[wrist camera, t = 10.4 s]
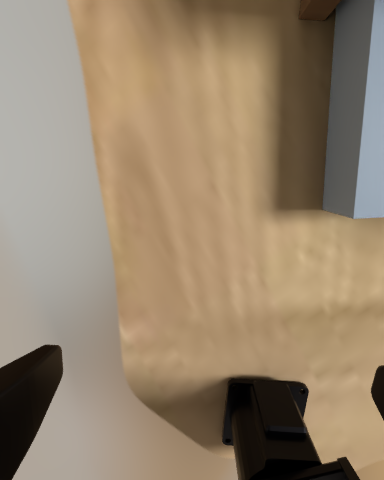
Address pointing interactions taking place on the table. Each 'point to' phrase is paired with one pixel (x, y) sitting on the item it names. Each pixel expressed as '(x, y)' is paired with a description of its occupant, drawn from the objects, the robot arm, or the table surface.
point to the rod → (356, 113)
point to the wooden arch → (317, 9)
